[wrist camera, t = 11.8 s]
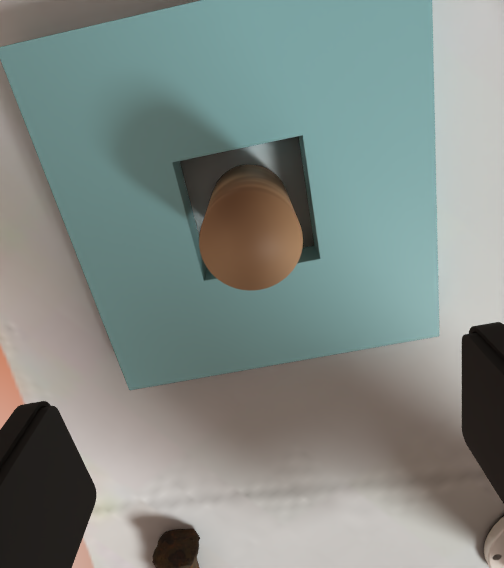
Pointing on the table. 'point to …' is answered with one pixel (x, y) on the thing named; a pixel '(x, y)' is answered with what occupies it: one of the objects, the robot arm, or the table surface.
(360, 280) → the square hole plate
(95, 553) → the table surface
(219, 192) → the cylinder
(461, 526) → the table surface
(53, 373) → the table surface
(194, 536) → the hand tool
